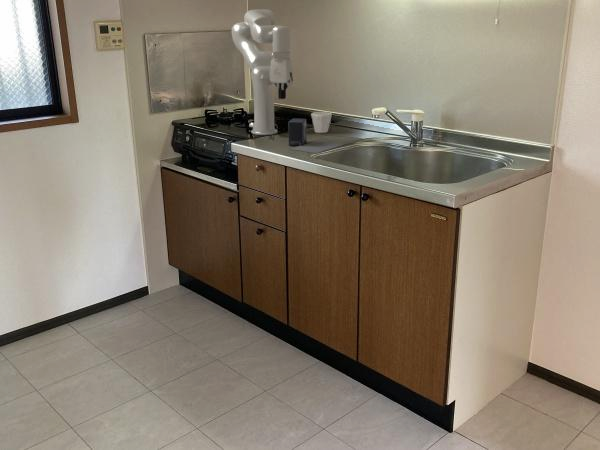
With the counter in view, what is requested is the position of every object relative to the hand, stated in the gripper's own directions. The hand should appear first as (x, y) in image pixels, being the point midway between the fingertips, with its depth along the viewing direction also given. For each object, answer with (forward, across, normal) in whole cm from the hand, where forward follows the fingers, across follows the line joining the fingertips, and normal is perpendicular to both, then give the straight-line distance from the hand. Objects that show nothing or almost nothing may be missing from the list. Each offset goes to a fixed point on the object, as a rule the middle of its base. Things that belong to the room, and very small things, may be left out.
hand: (282, 98), depth 278 cm
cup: (+19, +2, +28) cm, 34 cm away
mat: (+20, +20, 0) cm, 28 cm away
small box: (+19, +8, 0) cm, 21 cm away
